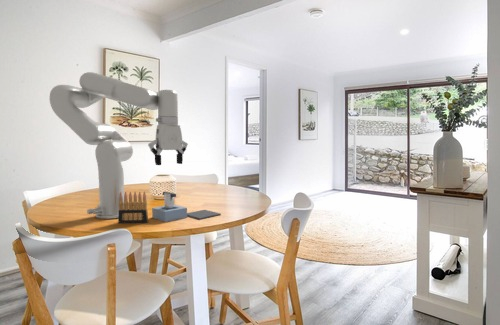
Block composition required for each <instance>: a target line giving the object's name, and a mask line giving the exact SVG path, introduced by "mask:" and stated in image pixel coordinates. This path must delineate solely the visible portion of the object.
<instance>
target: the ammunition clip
mask: <svg viewBox="0 0 500 325" xmlns="http://www.w3.org/2000/svg"><path fill="white" fill-rule="evenodd" d="M117 219H118V221H117V222H118V224H147V223H148V222H149V214H148V202H147V194H146V191H143V195H142V193H141V191H139V192H138V195H137V192H136V191H134V193H133V192H132V191H130V192H129V195H128V194H127V191H124V206H123V196H122V193H121V192H120V195H119V217H118V218H117Z"/></svg>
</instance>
